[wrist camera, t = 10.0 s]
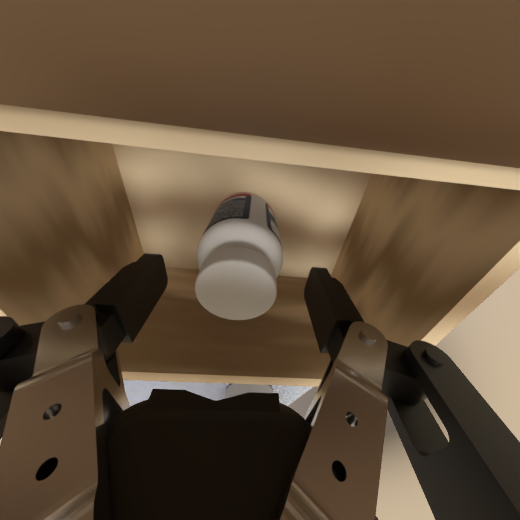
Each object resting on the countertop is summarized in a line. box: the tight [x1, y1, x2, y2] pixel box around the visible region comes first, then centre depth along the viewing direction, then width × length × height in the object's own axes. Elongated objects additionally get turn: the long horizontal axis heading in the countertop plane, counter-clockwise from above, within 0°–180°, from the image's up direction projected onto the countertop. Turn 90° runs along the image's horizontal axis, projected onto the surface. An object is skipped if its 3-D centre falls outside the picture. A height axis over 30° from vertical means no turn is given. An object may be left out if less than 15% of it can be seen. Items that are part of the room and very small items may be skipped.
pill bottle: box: [195, 193, 283, 320], centre depth 13 cm, size 5×5×9 cm
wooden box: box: [0, 104, 520, 386], centre depth 12 cm, size 14×21×11 cm, turn 84°
